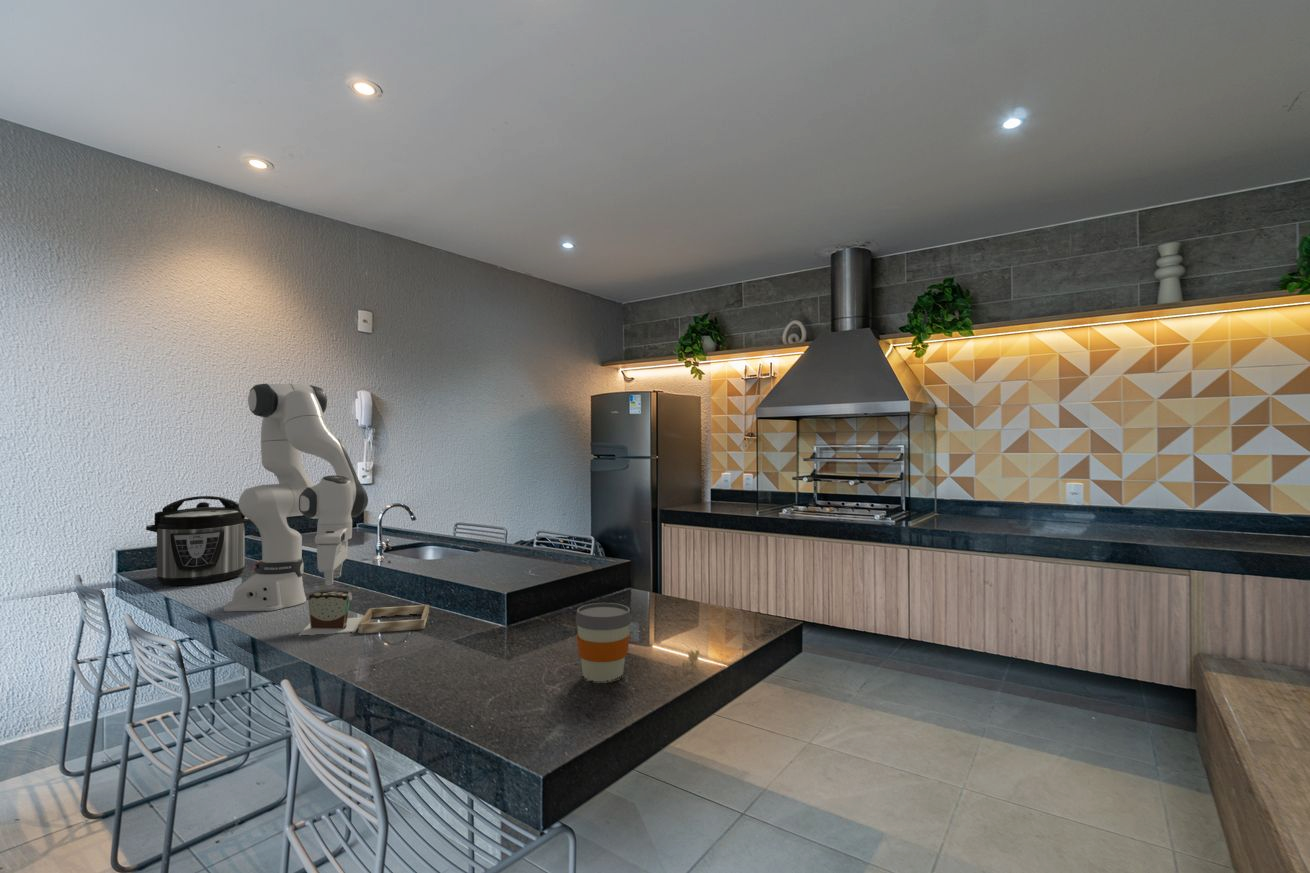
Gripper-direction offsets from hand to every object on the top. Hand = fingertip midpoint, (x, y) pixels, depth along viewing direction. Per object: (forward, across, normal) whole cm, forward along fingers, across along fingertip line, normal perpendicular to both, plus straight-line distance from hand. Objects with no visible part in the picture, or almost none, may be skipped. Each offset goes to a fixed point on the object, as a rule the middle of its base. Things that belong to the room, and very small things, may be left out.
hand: (333, 581), depth 173 cm
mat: (+13, +1, 0) cm, 13 cm away
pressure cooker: (+15, -78, -61) cm, 101 cm away
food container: (+13, +1, +1) cm, 13 cm away
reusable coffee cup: (+11, +57, +68) cm, 89 cm away
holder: (+13, +1, +17) cm, 21 cm away
